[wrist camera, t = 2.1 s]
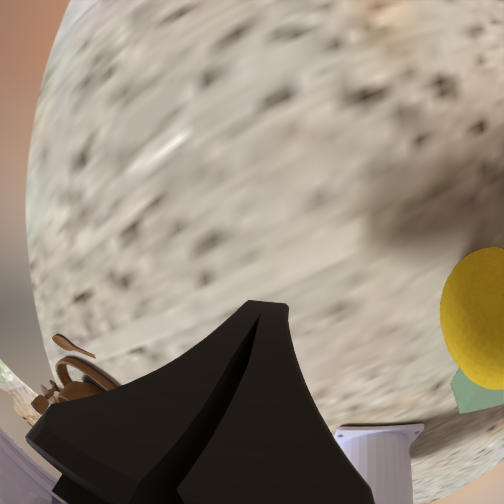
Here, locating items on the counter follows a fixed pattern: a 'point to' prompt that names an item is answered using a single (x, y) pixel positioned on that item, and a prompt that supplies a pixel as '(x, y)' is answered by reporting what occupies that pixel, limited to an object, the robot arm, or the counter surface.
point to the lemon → (476, 316)
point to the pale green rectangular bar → (474, 394)
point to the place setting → (70, 388)
